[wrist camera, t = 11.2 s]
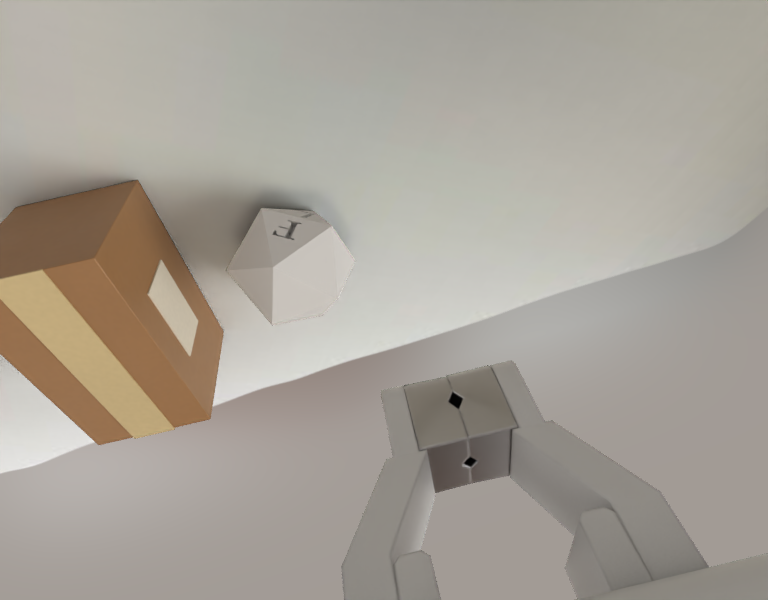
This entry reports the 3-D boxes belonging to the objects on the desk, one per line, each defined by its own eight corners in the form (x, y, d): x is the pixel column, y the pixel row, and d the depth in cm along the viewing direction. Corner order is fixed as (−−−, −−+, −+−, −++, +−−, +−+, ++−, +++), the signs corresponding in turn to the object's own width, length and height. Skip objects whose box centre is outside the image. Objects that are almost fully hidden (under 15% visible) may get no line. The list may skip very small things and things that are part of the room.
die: (368, 225, 39) (350, 215, 30) (344, 325, 41) (319, 347, 31) (274, 202, 40) (225, 184, 30) (253, 301, 41) (199, 315, 31)
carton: (139, 178, 33) (94, 257, 25) (225, 332, 44) (212, 420, 36) (14, 206, 33) (-68, 294, 25) (131, 353, 44) (98, 447, 36)
